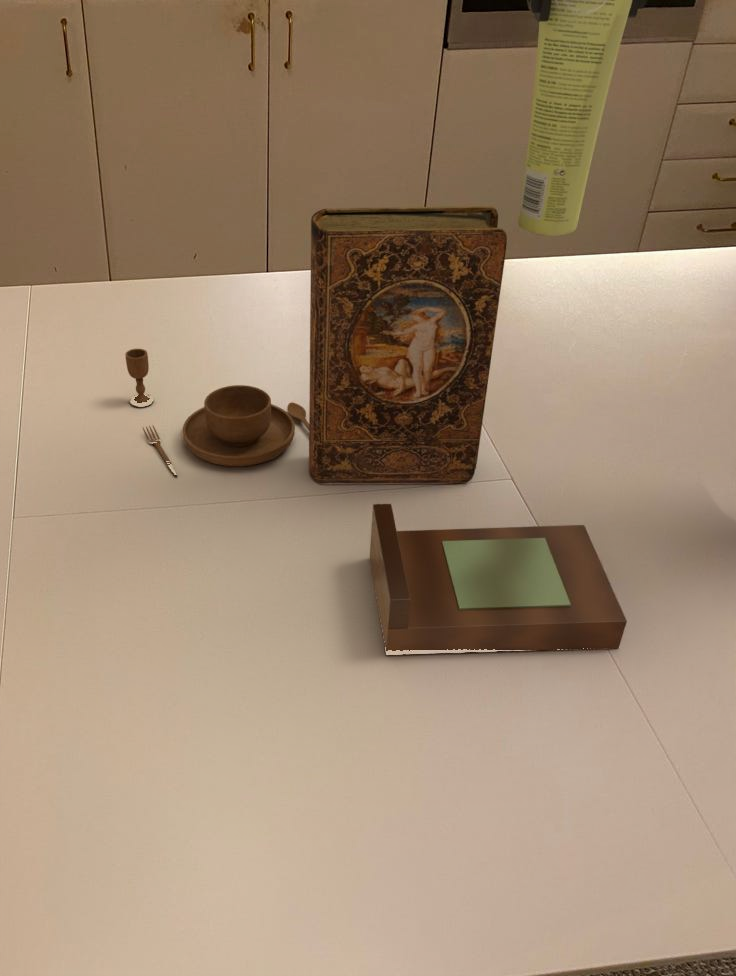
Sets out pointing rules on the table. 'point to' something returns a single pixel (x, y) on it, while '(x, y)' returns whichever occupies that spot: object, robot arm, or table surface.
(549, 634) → the brown wooden stand
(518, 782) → the table surface
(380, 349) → the book
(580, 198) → the tube
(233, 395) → the place setting
